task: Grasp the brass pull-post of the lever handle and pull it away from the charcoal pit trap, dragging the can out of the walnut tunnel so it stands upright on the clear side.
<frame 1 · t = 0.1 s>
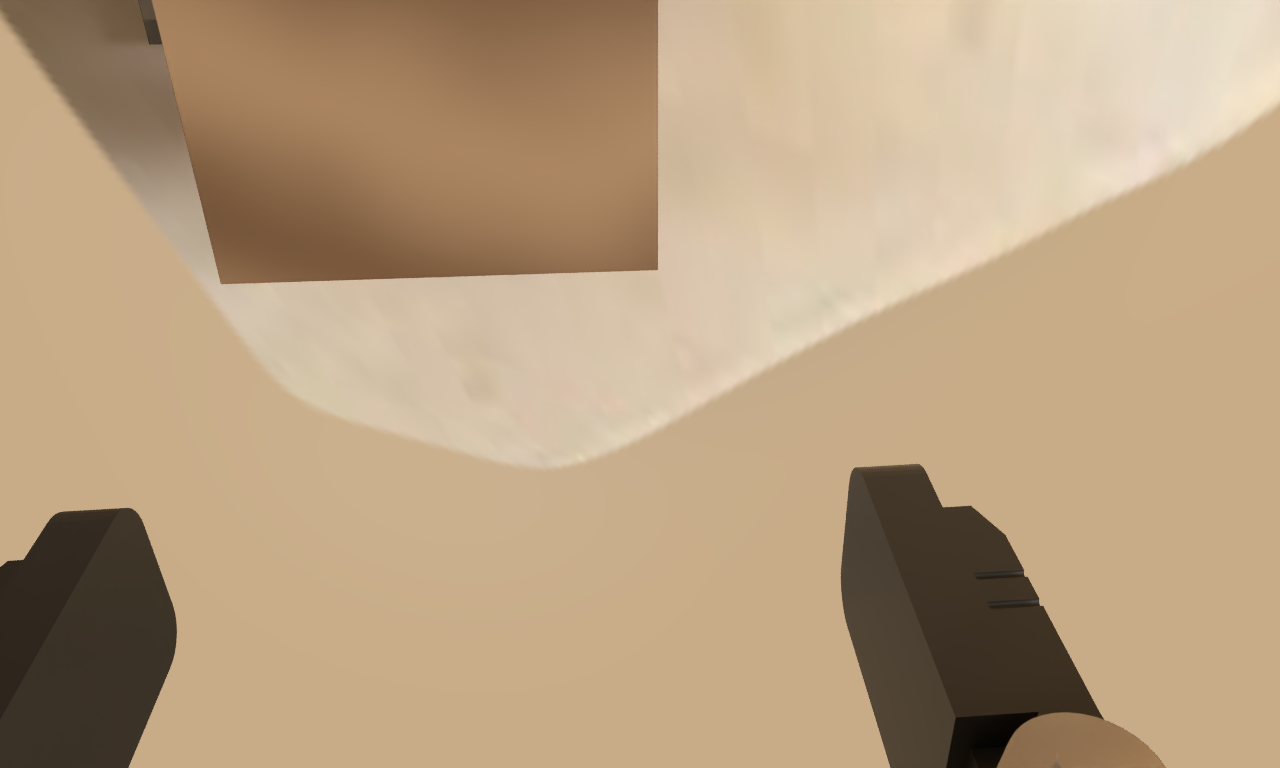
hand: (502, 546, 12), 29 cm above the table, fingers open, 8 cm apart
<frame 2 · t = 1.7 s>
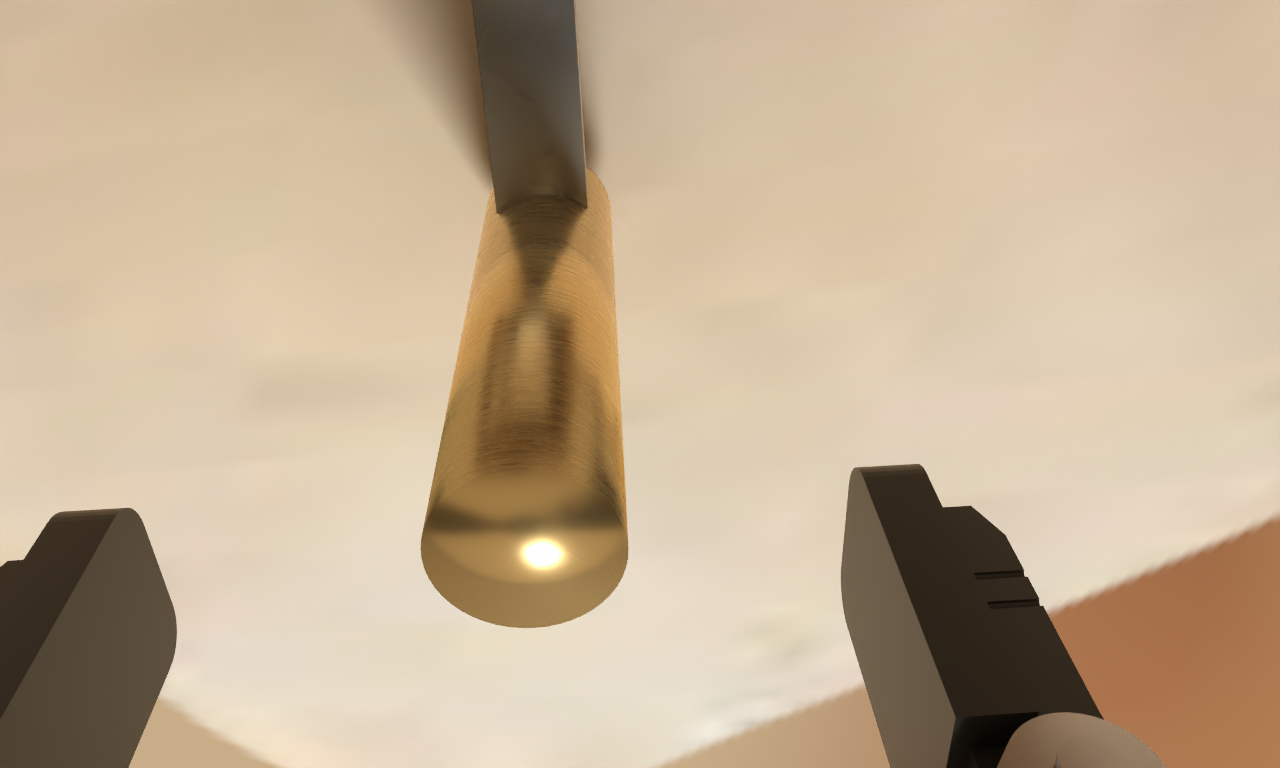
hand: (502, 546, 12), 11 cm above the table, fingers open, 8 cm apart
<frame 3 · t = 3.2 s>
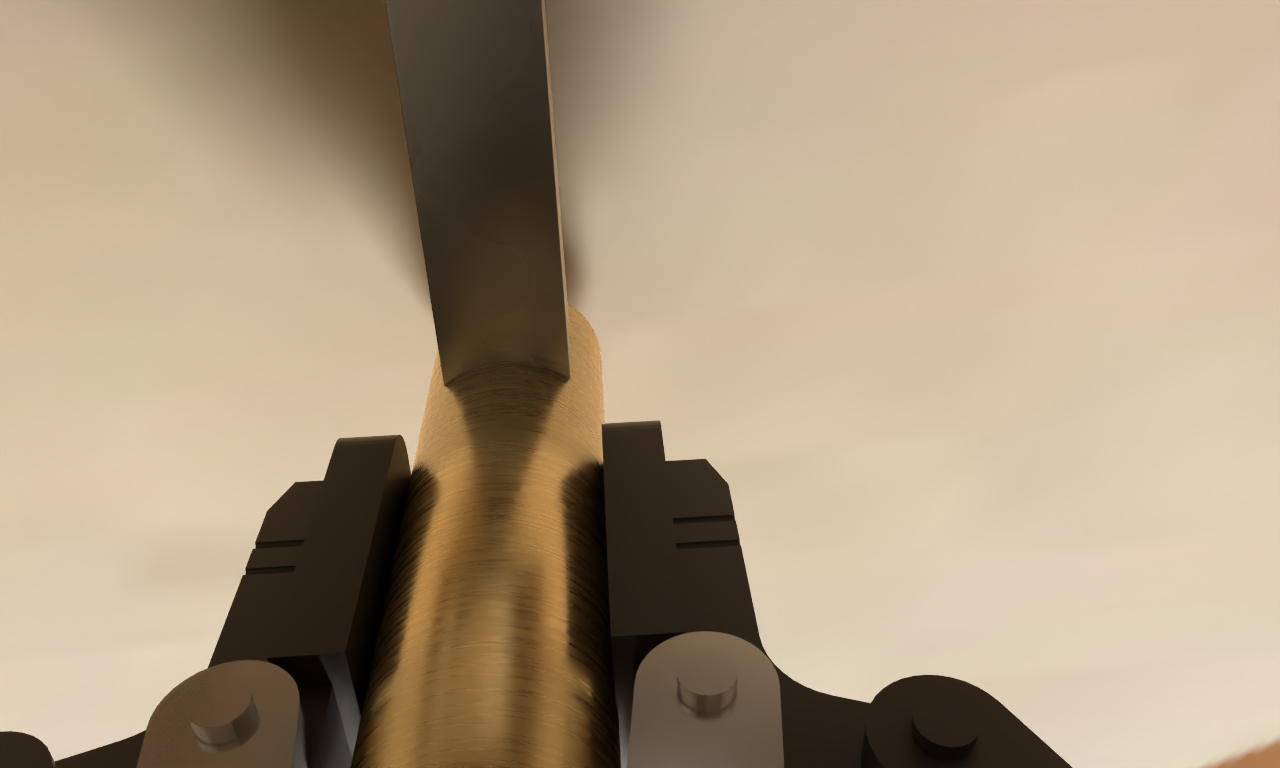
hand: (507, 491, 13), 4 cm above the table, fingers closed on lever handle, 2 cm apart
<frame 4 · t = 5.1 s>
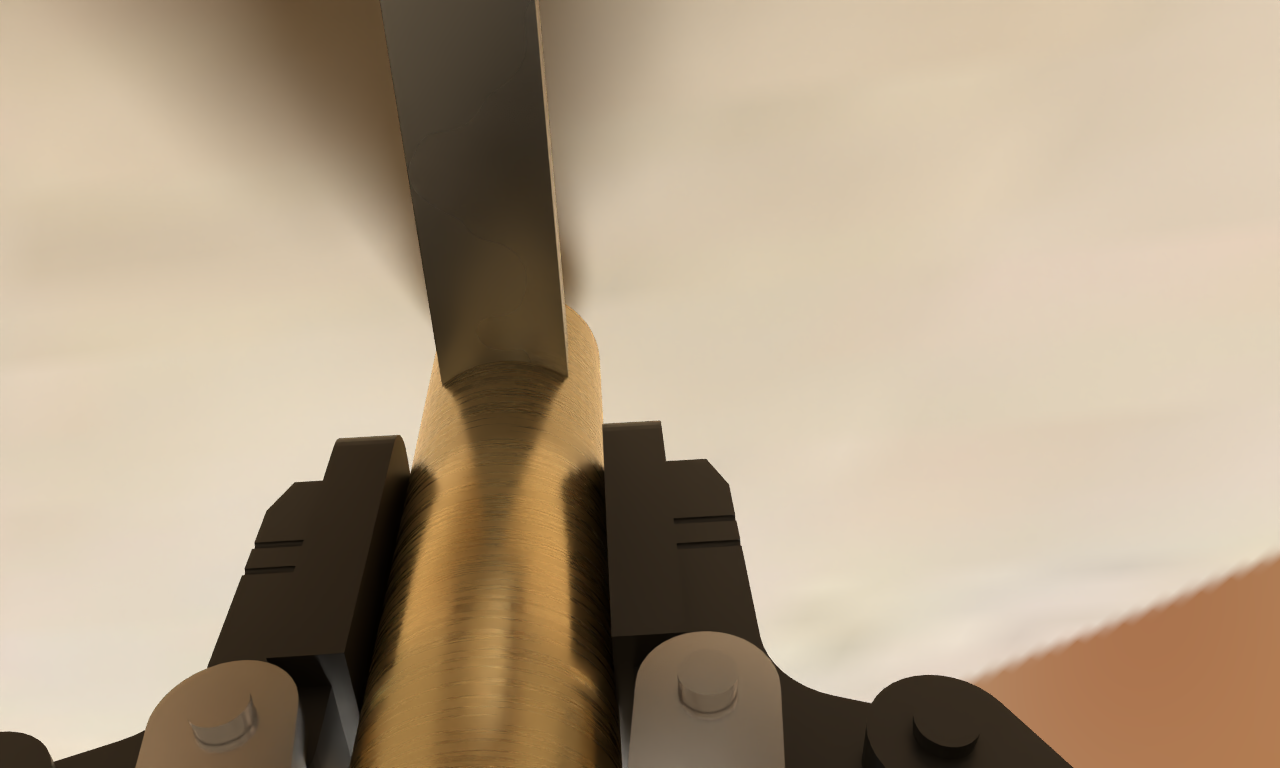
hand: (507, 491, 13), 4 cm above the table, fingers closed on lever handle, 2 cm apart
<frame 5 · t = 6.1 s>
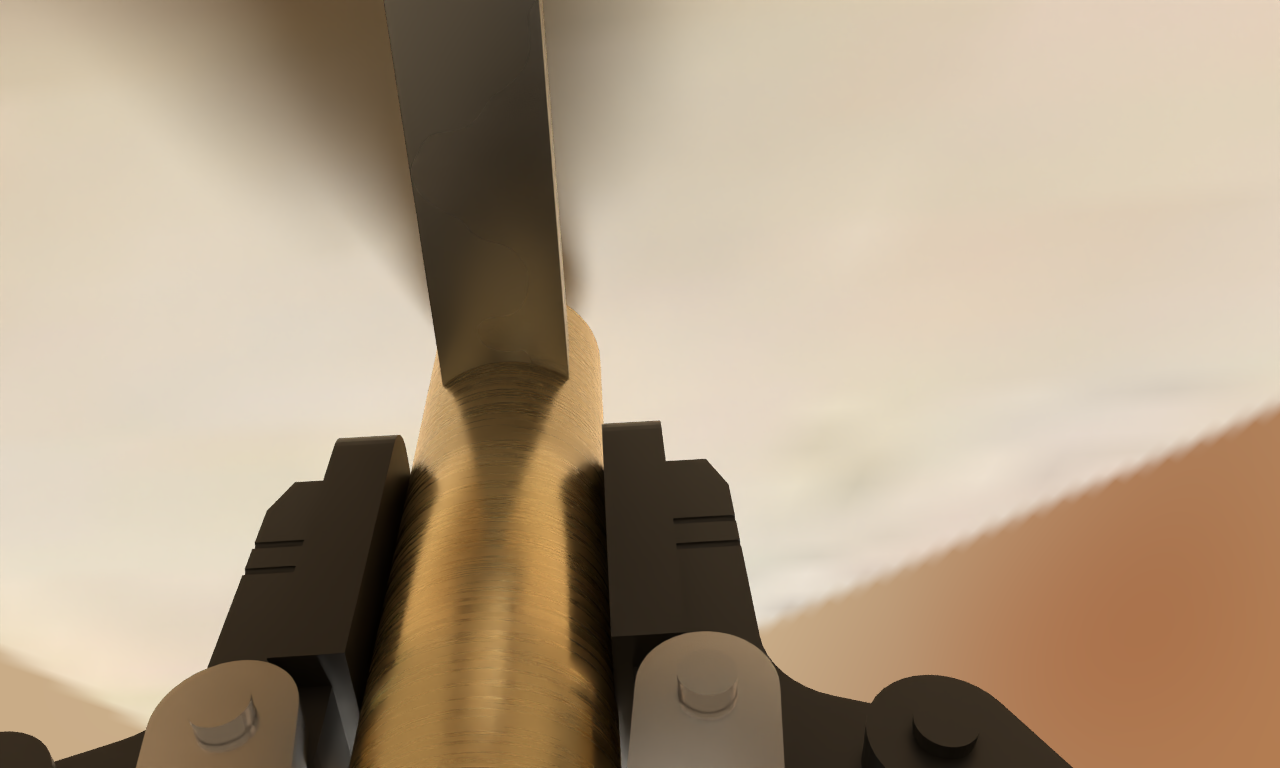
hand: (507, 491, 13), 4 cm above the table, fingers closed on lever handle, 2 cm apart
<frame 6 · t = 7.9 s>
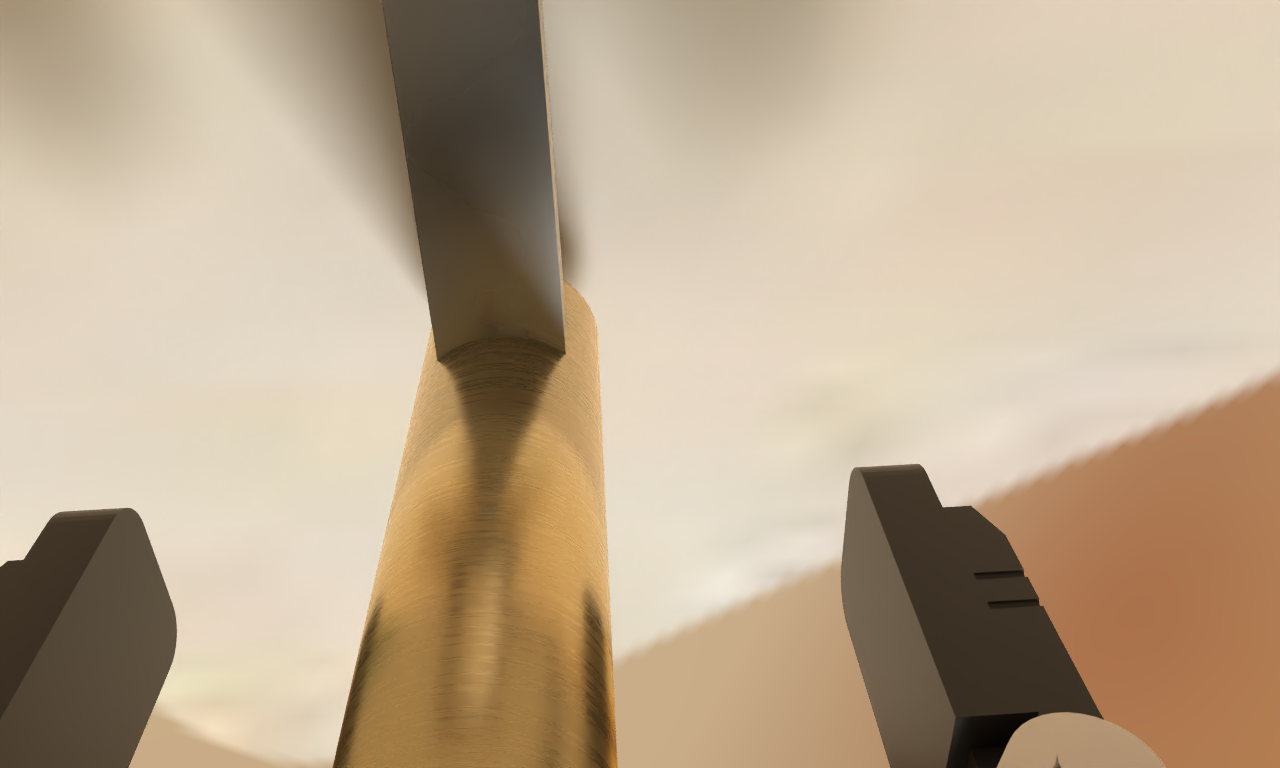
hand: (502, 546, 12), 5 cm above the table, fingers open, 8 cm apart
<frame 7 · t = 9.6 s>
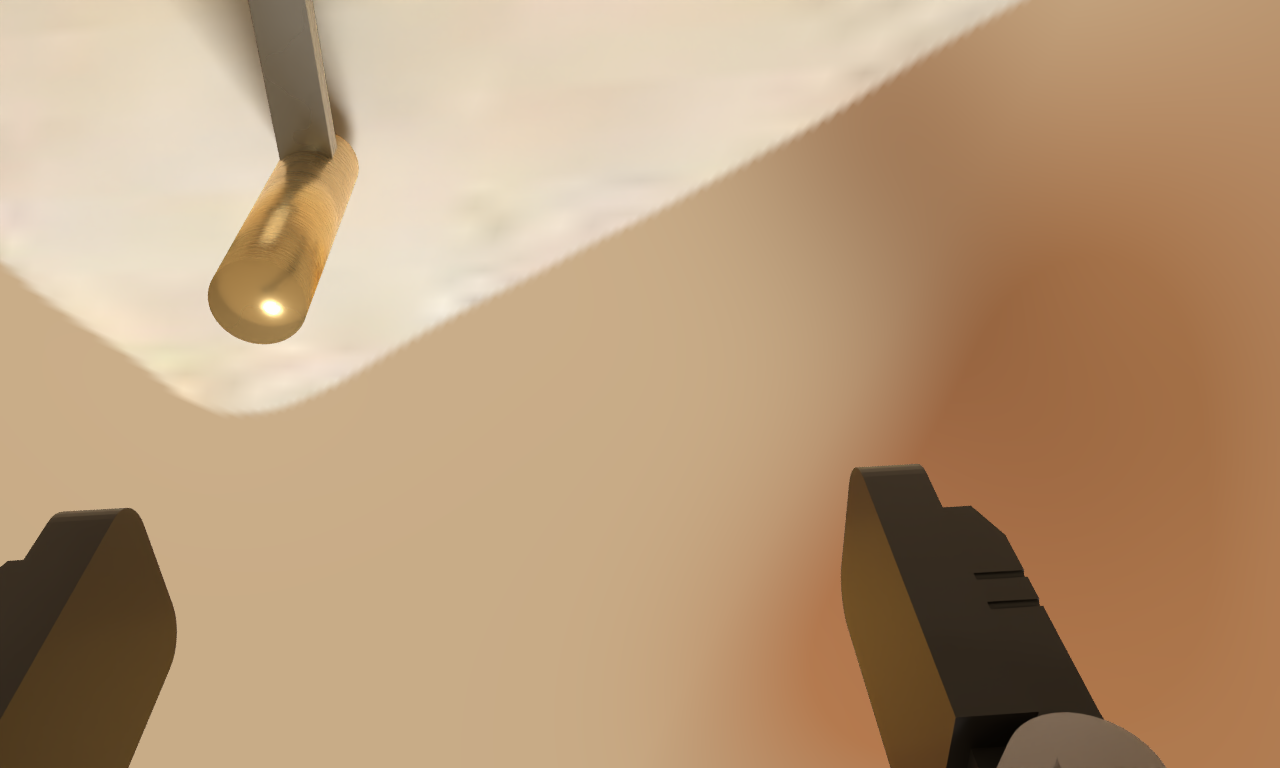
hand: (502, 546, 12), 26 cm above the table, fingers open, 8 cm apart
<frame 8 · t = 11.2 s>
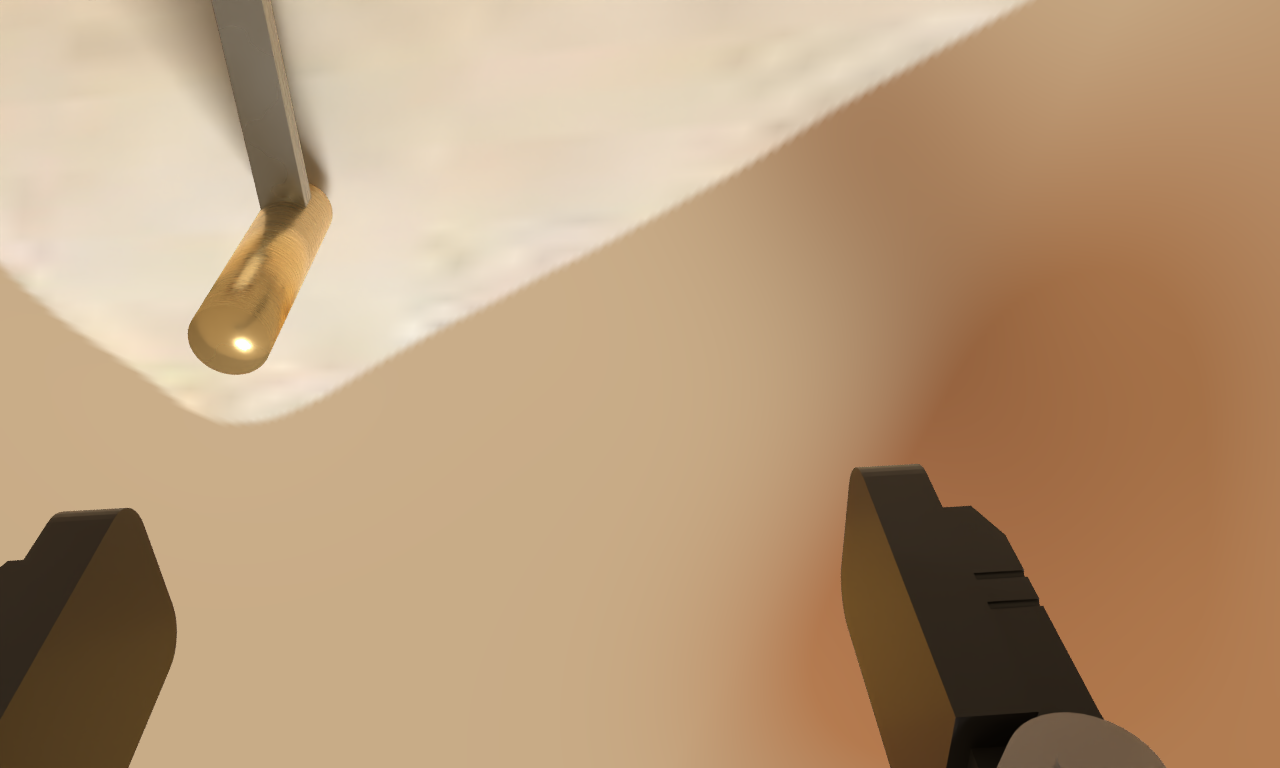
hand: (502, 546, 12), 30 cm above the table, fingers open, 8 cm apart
lever handle: (209, 21, 32), point 6 cm above the table, slide at 10.6 cm
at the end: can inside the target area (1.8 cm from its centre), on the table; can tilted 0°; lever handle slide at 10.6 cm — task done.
